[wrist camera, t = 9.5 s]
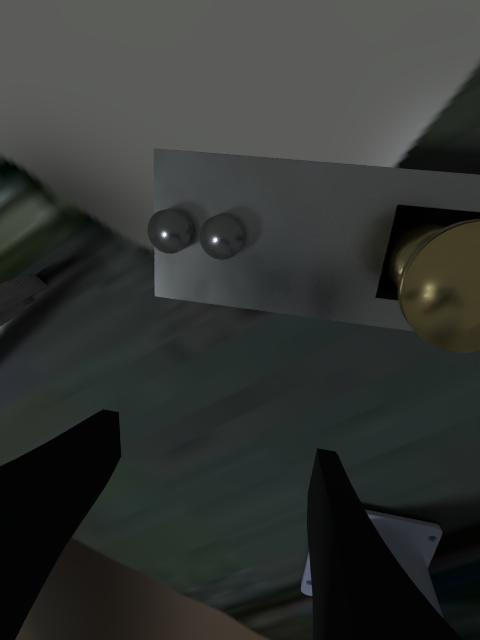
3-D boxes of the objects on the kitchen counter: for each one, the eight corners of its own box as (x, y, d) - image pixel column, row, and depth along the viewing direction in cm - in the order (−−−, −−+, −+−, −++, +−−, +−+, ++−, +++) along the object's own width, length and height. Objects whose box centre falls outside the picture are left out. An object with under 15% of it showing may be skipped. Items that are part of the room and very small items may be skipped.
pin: (443, 301, 18) (520, 362, 12) (358, 288, 19) (386, 340, 12) (473, 214, 17) (580, 231, 10) (379, 202, 17) (424, 212, 11)
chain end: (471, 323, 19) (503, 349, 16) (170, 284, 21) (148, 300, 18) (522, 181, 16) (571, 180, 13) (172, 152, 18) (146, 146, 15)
